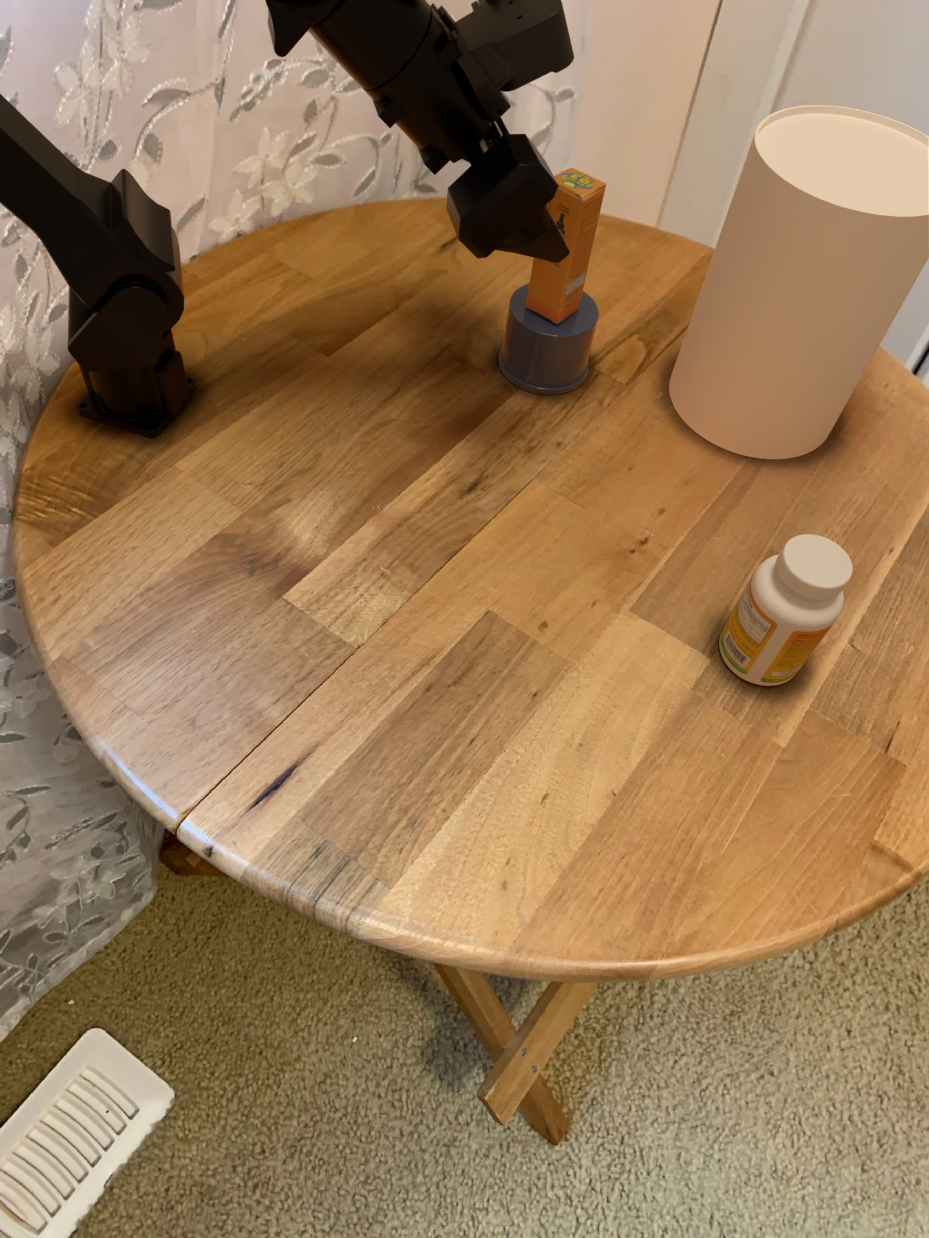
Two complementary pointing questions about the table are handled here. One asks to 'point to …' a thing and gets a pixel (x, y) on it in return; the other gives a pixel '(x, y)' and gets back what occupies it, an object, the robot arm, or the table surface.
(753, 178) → the canister
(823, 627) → the supplement bottle
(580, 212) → the supplement box
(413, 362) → the table surface
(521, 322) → the cup
